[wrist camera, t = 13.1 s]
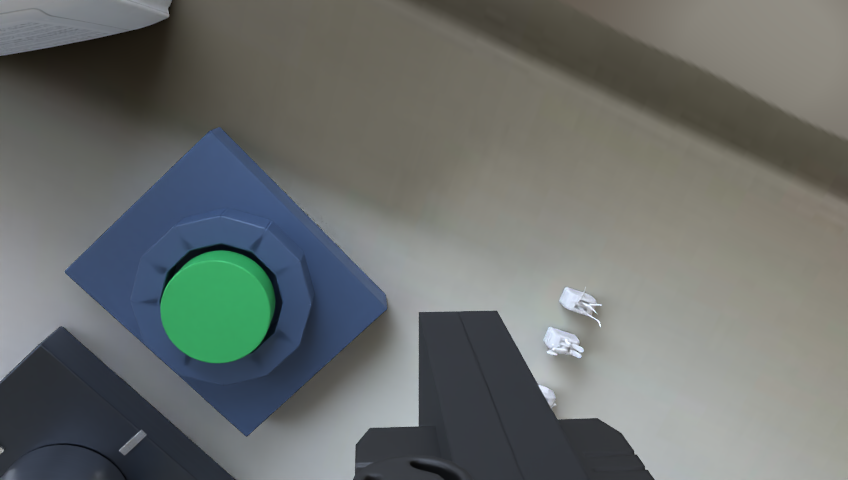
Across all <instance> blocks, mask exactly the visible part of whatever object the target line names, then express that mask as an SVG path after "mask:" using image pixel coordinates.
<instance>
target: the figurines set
mask: <svg viewBox="0 0 848 480" xmlns="http://www.w3.org/2000/svg"><path fill="white" fill-rule="evenodd" d="M585 289H586V287H585ZM560 303H561V304H562V305H563V306H564V307H565V308H566V309H568V310H571V311H574V312H577V313H580V314H582V315H585V316H590V317H591V318H593V319H595V318H594V317H592V316H591V315H592V314H593V311H594V310H595V307H596V306H597V305H601V306H602V304H597V301H596V300H595V299H594V297H593V296H591V295H589V294H586V293H585V290H584V293H583V292H580V291H577V290H574V289H572V288H569V287H566V288H565V289H564V291H563V293H562V295H561V298H560ZM594 312H595V311H594ZM595 313H596V312H595ZM595 320H596V321H598V320H597V319H595ZM598 323H599V325H600V322H599V321H598ZM600 328H601V326H600ZM543 342H544V343H545V344H546V345H547V346H548V347H549V348H550V349H552V350H548V351H547V353H549V354H551V355H553V356H557V355H558V354H557V353H555V352H558V353H564V354H567V355H570V356H576V357H578V358H581V354H580V353H578V352H576V351H579V352H584V349H583V348H582V347H580V346H579V344H580V341H579V340H578V337H577V336H576V335H574V334H571V333H568V332H565V331H562V330H559V329H556V328H553V327H549V328H548V330H547V333H546V335H545V338H544V340H543ZM538 386H539V388H540V389H541V391H542V393H543V395H544V397H545V398H546V400H547V402H548V404H549V406H550V407H551V409H552V406H556V403H554V402H555V400H556V396H555V394H554V392H553V390H551V389H548V388H547V387H545V386H542V385H538Z"/></svg>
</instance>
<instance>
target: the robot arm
mask: <svg viewBox="0 0 848 480" xmlns="http://www.w3.org/2000/svg"><path fill="white" fill-rule="evenodd" d="M353 480H654V478H653V477H652V476H651V474H650V473H649V471H648V470H645V466H644V464H643V463H642V462H641V460H640V459H639V457H638V456H637V455H634V450H633V449H632V448H631V446H630V445H629V443H628V442H627V441H626V439H625V438H624V436H623V435H622V433H620V432H619V431H617V430H615V429H614V428H612V427H610V426H609V425H607V424H606V423H604V422H602V421H601V420H599V419H598V418H592V419H561V420H557V418H556V416H555V415H554V413H553V411H552V409H551V407H550V406H549V404H548V402H547V400H546V398H545V397H544V395H543V393H542V391H541V389H540V388H539V386H538V384H537V382H536V380H535V379H534V377H533V375H532V373H531V371H530V370H529V368H528V366H527V364H526V362H525V361H524V359H523V357H522V355H521V353H520V352H519V350H518V348H517V346H516V344H515V343H514V341H513V339H512V337H511V335H510V334H509V332H508V330H507V328H506V326H505V325H504V323H503V321H502V319H501V317H500V316H499V314H498V312H497V311H461V312H419V427H391V428H370V429H369V430H368V431H367V432H366V433H365V435H364V436H363V437H362V438H361V439H360V440H359V442H358V443H357V444H356V457H355V476H354V479H353Z"/></svg>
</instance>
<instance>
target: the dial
mask: <svg viewBox="0 0 848 480" xmlns="http://www.w3.org/2000/svg"><path fill="white" fill-rule="evenodd" d="M0 480H125V478H124V476H123V475H122V474H121V472H120V471H119V470H118V469H117V468H116V467H115V466H114V465H113V464H112V463H111V462H110V461H109V460H107V459H106V458H104V457H103V456H101V455H100V454H98V453H96V452H93V451H91V450H88V449H85V448H82V447H78V446H71V445H53V446H47V447H43V448H39V449H36V450H34V451H31V452H29V453H27V454H26V455H24V456H22V457H21V458H20V459H18V460H17V461H16V462H15V463H14V464H13V465H12V466H11V467H10V468H9V469H8V470H7V471H6V472H5V473H4V475H3V476H2V477H1V478H0Z"/></svg>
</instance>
